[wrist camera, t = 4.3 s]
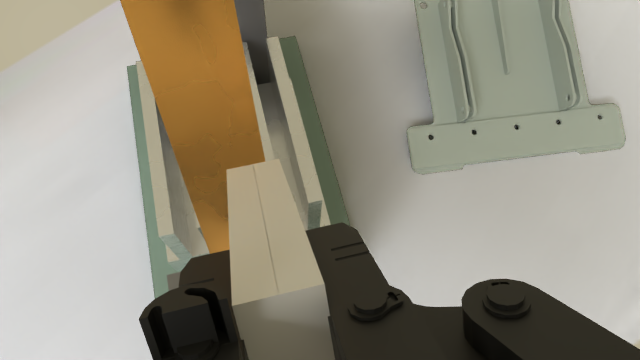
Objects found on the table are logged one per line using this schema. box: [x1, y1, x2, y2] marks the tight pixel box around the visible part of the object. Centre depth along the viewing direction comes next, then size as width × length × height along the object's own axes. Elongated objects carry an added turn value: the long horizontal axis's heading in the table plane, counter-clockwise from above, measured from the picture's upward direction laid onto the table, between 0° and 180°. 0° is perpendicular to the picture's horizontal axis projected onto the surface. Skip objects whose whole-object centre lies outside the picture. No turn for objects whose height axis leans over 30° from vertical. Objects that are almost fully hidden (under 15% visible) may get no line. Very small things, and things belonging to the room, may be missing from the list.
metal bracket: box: [407, 0, 626, 174], centre depth 35 cm, size 14×6×15 cm
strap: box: [120, 0, 265, 254], centre depth 17 cm, size 16×3×1 cm
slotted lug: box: [234, 0, 270, 85], centre depth 30 cm, size 4×7×10 cm, turn 104°
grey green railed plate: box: [127, 36, 350, 299], centre depth 32 cm, size 19×12×1 cm, turn 14°
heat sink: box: [136, 36, 331, 291], centre depth 27 cm, size 14×9×8 cm, turn 14°
